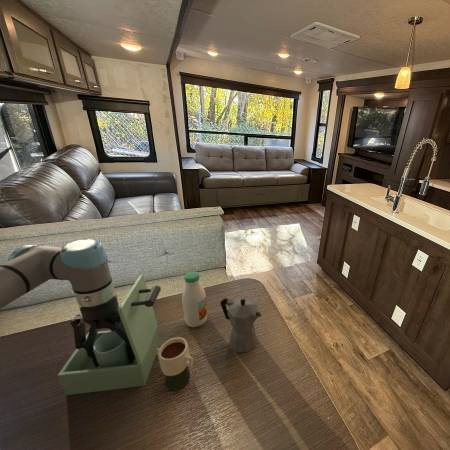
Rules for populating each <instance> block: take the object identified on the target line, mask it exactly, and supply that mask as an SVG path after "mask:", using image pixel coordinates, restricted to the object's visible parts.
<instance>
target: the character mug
mask: <svg viewBox="0 0 450 450" xmlns="http://www.w3.org/2000/svg"><path fill="white" fill-rule="evenodd" d="M156 353H157V354H156V357H157V358H158V361H159V367H160V370H161V372H162V374H163V375H165V386H166V387H167V389H168V390H171V391H176V390H180V389H181V388H182V387H184V386H185V385H186V384H188V382H189V380H190V378H191V373H190V369H189V367H191V368H192V367H193V366H194V359H193V357H192V356H191V355H190V349H189V343H188V342H187V340H186V339H185V338H183V337H173V338H170V339H168V340H166V341H165V342H164V343H162V344H160V346H159V348H157V349H156Z"/></svg>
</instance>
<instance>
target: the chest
mask: <svg viewBox="0 0 450 450" xmlns="http://www.w3.org/2000/svg"><path fill="white" fill-rule="evenodd" d="M110 331H111V330H101V331H98V332H97V335H96V337H95V339H96V340H97V339H98V338H99V337H100V336H102V335H104V334H105V333H108V332H110ZM88 334H89V331H88V332H87V333H86V340H87V337H88ZM96 340H95V341H96ZM95 341H94V342H95ZM93 344H94V343H93ZM160 347H161V341H160V336H159V331H158V328H157V329H156V331H155V334H154V336H153V339H152V341H151V343H150V346H149V348H148V351H147V353H146V355H145V358H144V360H143V363H142V365H138V363H137V361H136V358H135V359H134V362H133V363H130V362H129V363H128V365H127V366H118V367H108V368H100V366H98V367H95V365H94V362H93V359H92V357H89V356H88V354H87V351H86V350H85V349H84V348H80V349H76V348H75V350H74V352H73V353H72V354H71V355H70V357H69V359H68V360H67V361H66V362H65V364H64V365H63V367H62V368H61V370H60V371H59V372H58V374H57V379H58V380H59V382H60V385H61V387H62V389H63V391H64V394H65V396H72V395H79V394H80V395H81V394H88V393H96V392H105V391H112V390H120V389H127V388H128V389H129V388H135V387H145V386H146V384H147V382H148V379H149V376H150V372H151V370H152V368H153V365H154V362H155V359H156V357H157V353H156V349H157V348H160Z"/></svg>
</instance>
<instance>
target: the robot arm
mask: <svg viewBox="0 0 450 450" xmlns="http://www.w3.org/2000/svg"><path fill="white" fill-rule="evenodd" d="M49 280H58V281H69V283H70V285H71V287H72V291H73V294H74V296H75V299H76V302H77V304H78V308H79V311H80V314H76V315H75V316H74V317H73V318H72V319H71V321H70V323H69V324H70V325H71V327H72V328H73V337H74V347H75V350H76V349H80V348H84V349H85V350H86V351H87V354H88V356H89V357H92V359H93V362H94V365H95V367H98V366H99V364H98V362H97V360H96V357H95V354H94V351H93V343H94V341H95V340H96V339H95V337H96V335H97V332H99V331H98V330H103V329H108V330H109V331H112V332H113V331H114V332H116V333H117V334H118V335H119V336H120V337H121V338H122V339H123V340H124V341H125V342H126V343H127V345H126V350H127V354H128V358H129V361H130V363H133V362H134V359H135V355H134V352H133V350H132V347H131V344H130V342H129V339H128V336H127V333H126V331H125V328H124V325H123V323H122V320H121V317H120V315H119V312H118V308H119V306H120V304H119V300H118V297H117V296H118V295H117V293H116V288H115V285H114V282H113V278H112V274H111V270H110V266H109V262H108V255H107V254H106V251H105V249H104V246H103V244H102V243H101V242H100V241H99V240H96V239H79V240H74V241H71V242H69V243H66V244H64V246H62V247H61V246H54V245H48V244H25V245H22V246H18V247H17V248H15V250H14V251H13V252H12V253H11V254H9V255H8V258H7V261H6V262H4V263H1V264H0V310H1V309H3V308H5V307H6V306H7V305H9V304H11V303H12V302H14V301H16V300H18V299H19V298H21V297H22V296H24V295H26V294H28V293H30V292H31V291H33V290H34V289H36V288H38V287H40V286H41V285H43V284H45V283H46V282H48V281H49ZM86 324H87V325H89V329H88V332H89V334H88V333H86ZM87 334H88V337H87V340H86V335H87Z"/></svg>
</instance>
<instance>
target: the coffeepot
mask: <svg viewBox="0 0 450 450" xmlns="http://www.w3.org/2000/svg"><path fill="white" fill-rule="evenodd" d="M219 304H220V307H221V309H222V312H223V315H224V318H225V319H226V320H229V321H230V325H231V327H232V328H231V332H230V337H229V343H228V345H229V346H230V348H231V349H232V351H234V352H236V353H247V352H249V351H250V350H252V349H253V348H255V346H256V343H257V333H256V329H255V325H254V324H255V322H256V320H257V319H259V318H261V317H262V313H261V312H260V310H258V303H256V302H255V301H254V299H252V298H246V297H240V298H237V299H235V300H233V299H231V298H227V297H224V298H222V299H221V300H220V303H219ZM227 306H228V308H227Z"/></svg>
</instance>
